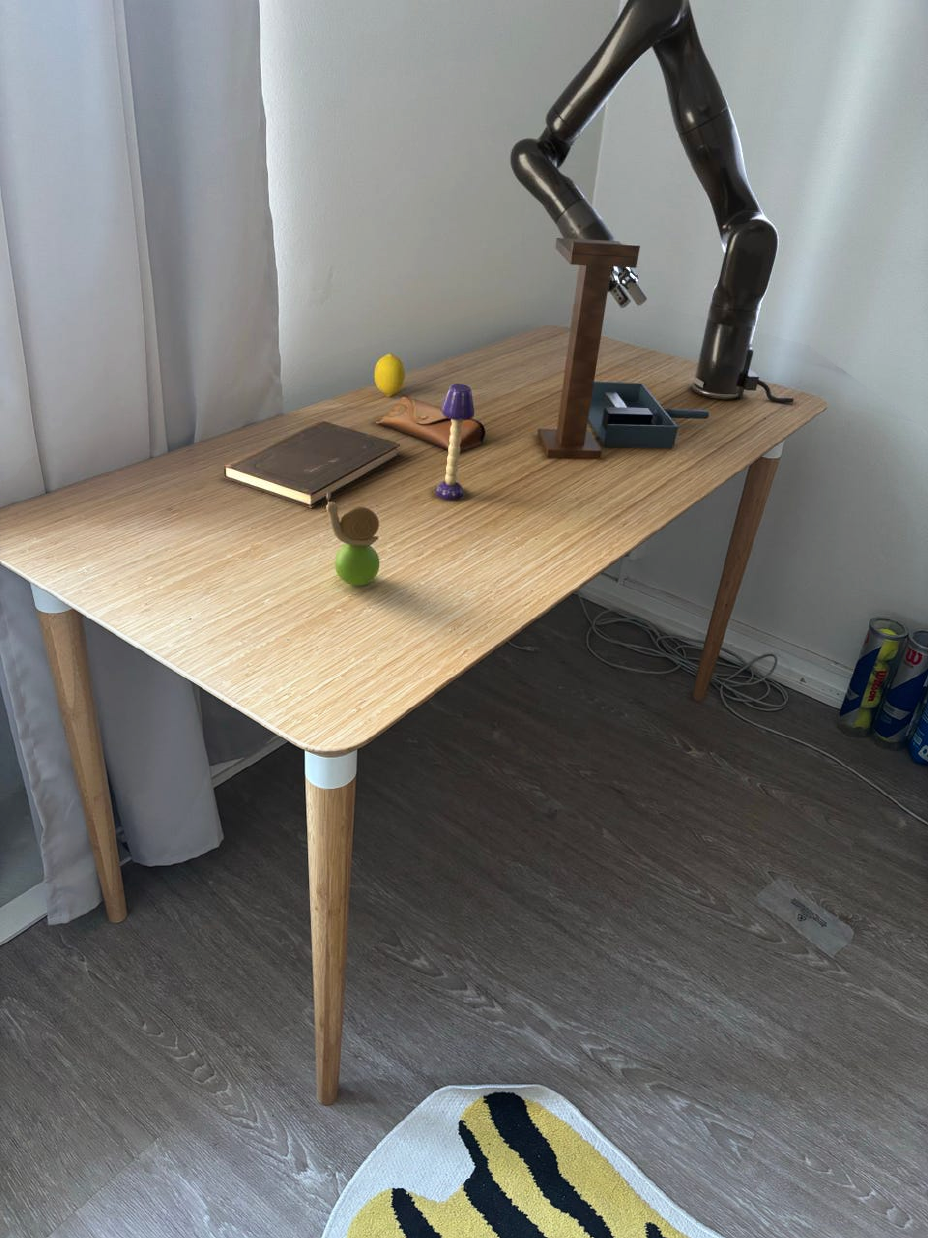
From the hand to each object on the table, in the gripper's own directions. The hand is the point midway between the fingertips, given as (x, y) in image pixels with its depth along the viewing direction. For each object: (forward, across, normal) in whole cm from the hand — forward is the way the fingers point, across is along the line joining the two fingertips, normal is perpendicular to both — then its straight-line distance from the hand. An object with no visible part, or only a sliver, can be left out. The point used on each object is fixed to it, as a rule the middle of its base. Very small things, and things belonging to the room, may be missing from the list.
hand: (635, 303), depth 172 cm
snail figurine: (+20, -86, +21) cm, 91 cm away
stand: (+16, -29, +14) cm, 36 cm away
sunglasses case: (+1, -40, +28) cm, 49 cm away
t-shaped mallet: (+16, -11, +11) cm, 22 cm away
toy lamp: (+15, -57, +20) cm, 63 cm away
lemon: (-11, -30, +37) cm, 49 cm away
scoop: (+20, -9, +8) cm, 23 cm away
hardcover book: (-1, -63, +34) cm, 71 cm away
